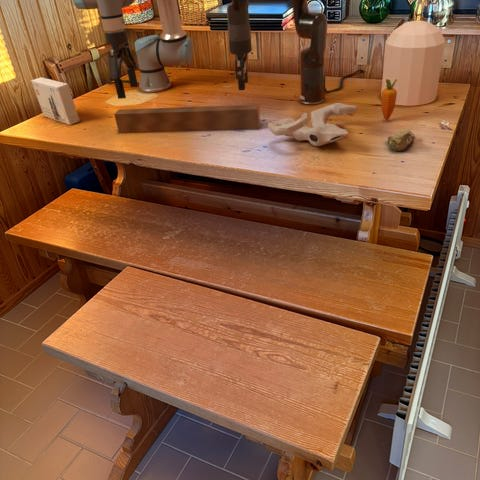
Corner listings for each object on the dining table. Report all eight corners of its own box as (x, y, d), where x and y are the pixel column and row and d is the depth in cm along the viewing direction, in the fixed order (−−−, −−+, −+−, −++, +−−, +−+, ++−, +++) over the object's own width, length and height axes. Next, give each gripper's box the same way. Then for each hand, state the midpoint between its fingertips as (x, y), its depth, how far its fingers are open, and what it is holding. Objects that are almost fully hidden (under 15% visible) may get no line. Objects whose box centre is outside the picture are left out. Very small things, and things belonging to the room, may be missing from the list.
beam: (118, 133, 178) (114, 114, 174) (123, 128, 182) (118, 109, 178) (258, 129, 170) (257, 109, 165) (259, 124, 174) (258, 104, 169)
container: (406, 109, 173) (416, 29, 157) (369, 95, 189) (375, 21, 173) (448, 97, 179) (462, 19, 163) (409, 85, 195) (418, 12, 180)
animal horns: (266, 154, 150) (264, 118, 144) (276, 126, 172) (275, 94, 165) (355, 154, 144) (357, 117, 138) (355, 125, 166) (356, 92, 159)
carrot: (394, 118, 167) (398, 76, 158) (393, 123, 163) (397, 80, 154) (379, 117, 168) (383, 75, 160) (378, 122, 165) (382, 80, 156)
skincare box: (42, 117, 201) (30, 80, 192) (53, 113, 205) (42, 76, 196) (69, 125, 189) (57, 86, 180) (80, 121, 193) (69, 82, 184)
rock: (408, 140, 153) (379, 139, 152) (414, 122, 149) (384, 120, 148) (421, 154, 144) (391, 153, 143) (428, 135, 140) (396, 133, 139)
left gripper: (112, 37, 149) (126, 102, 161) (137, 23, 169) (148, 82, 181) (90, 39, 150) (106, 103, 162) (117, 24, 170) (130, 82, 182)
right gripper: (248, 41, 148) (251, 92, 157) (253, 32, 160) (256, 80, 169) (225, 43, 149) (230, 93, 159) (231, 33, 161) (235, 80, 170)
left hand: (128, 92), depth 172 cm, fingers open, 13 cm apart
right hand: (243, 86), depth 164 cm, fingers open, 8 cm apart
